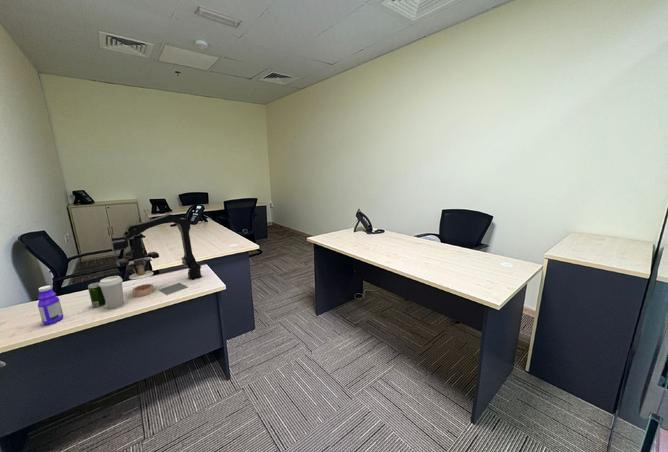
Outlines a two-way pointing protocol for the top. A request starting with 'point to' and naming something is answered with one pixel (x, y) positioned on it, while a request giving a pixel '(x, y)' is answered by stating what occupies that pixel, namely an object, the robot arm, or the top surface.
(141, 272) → the lid
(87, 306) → the top surface
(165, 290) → the mat
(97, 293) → the beer can
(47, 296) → the bottle
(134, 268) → the robot arm
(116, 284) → the coffee cup
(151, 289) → the bowl
